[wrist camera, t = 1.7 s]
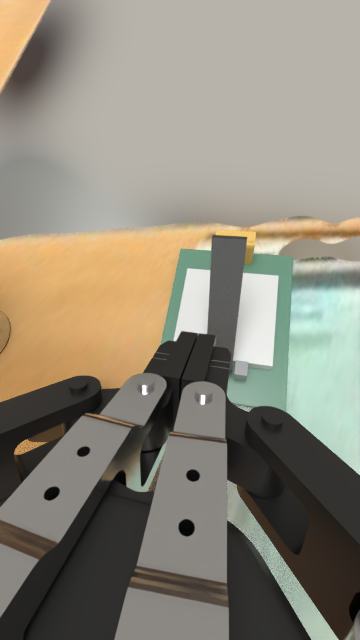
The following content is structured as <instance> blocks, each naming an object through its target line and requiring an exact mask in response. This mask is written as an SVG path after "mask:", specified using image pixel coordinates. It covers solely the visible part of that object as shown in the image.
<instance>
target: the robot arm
mask: <svg viewBox="0 0 360 640" xmlns="http://www.w3.org/2000/svg"><path fill="white" fill-rule="evenodd" d="M9 334H10V324H9V321H8V319H7V317H6V316H5V315H4V314H3V313H2V312H0V352H1V351H2V350H3V348H4V347H5V345H6V343H7V341H8V338H9ZM230 363H231V353H230V352H229V350H228V349H227V348H223V347H216V335H211V334H202V333H199V334H198V333H194V332H186V331H181V333H180V335H179V336H178V338H177V340H176V341H169V340H168V341H166V342H165V343H163V344H161V345H160V346H159V348H158V349H157V351H156V353H155V354H154V356H153V358H152V359H151V361H150V362H149V364H148V366H147V367H146V369H145V371H144V372H143V373H141V374H137V375H134V376H132V377H131V378H129V379H128V380H127V381H126V383H125V384H124V385H123V386H122V387H121V388H116V389H101V384H100V381H99V380H98V379H96V378H95V377H92V376H76V377H72V378H69V379H66V380H63V381H60V382H58V383H55V384H52V385H49V386H46V387H43V388H40V389H38V390H35V391H32V392H29V393H26V394H23V395H20V396H17V397H15V398H12V399H9V400H6V401H3V402H0V640H311V638H310V637H309V635H308V633H307V632H306V630H305V628H304V627H303V625H302V623H301V622H300V620H299V618H298V617H297V615H296V613H295V612H294V610H293V608H292V607H291V605H290V603H289V601H288V600H287V598H286V596H285V595H284V593H283V591H282V590H281V588H280V586H279V585H278V583H277V581H276V580H275V578H274V576H273V575H272V573H271V571H270V570H269V568H268V566H267V564H266V563H265V561H264V559H263V558H262V556H261V555H260V553H259V552H258V550H257V549H256V548H255V546H254V545H253V544H252V542H251V541H250V540H249V539H248V538H247V537H246V536H245V535H244V534H243V533H242V532H241V531H240V530H239V529H238V528H237V527H235V526H234V525H233V524H232V523H230V522H229V521H227V480H229V481H231V482H233V483H235V484H237V490H238V493H239V495H240V497H241V498H242V500H243V501H244V503H245V504H246V506H247V507H248V508H249V510H250V511H251V513H252V514H253V516H254V517H255V519H256V520H257V522H258V523H259V524H260V526H261V527H262V529H263V530H264V532H265V533H266V535H267V536H268V537H269V539H270V540H271V542H272V543H273V545H274V546H275V548H276V549H277V551H278V552H279V553H280V555H281V556H282V558H283V559H284V561H285V562H286V564H287V565H288V567H289V568H290V569H291V571H292V572H293V574H294V575H295V577H296V578H297V580H298V581H299V583H300V584H301V585H302V587H303V588H304V590H305V591H306V593H307V594H308V596H309V597H310V599H311V600H312V601H313V603H314V604H315V606H316V607H317V609H318V610H319V612H320V613H321V614H322V616H323V617H324V619H325V620H326V622H327V623H328V625H329V626H330V628H331V629H332V630H333V632H334V633H335V635H336V636H337V638H338V639H339V640H360V475H359V474H358V473H356V472H355V471H354V470H353V469H352V468H351V467H349V466H348V465H347V464H346V463H345V462H344V461H343V460H341V459H340V458H339V457H338V456H337V455H336V454H334V453H333V452H332V451H331V450H330V449H329V448H328V447H326V446H325V445H324V444H323V443H322V442H321V441H319V440H318V439H317V438H316V437H315V436H314V435H313V434H311V433H310V432H309V431H308V430H307V429H306V428H304V427H303V426H302V425H301V424H300V423H299V422H297V421H296V420H295V419H294V418H293V417H292V416H291V415H289V414H288V413H287V412H285V411H283V410H281V409H279V408H276V407H272V406H258V407H255V408H253V409H252V410H250V411H249V412H247V411H244V410H242V409H240V408H238V407H236V406H235V405H234V404H232V403H231V402H230V400H229V399H228V397H227V389H228V381H229V372H230ZM60 424H62V430H63V436H61V437H59V438H57V439H55V440H52V441H50V442H48V443H46V444H44V445H41V446H39V447H37V448H35V449H33V450H31V451H28V452H26V453H24V454H21V455H14V451H15V449H16V447H17V446H18V445H19V444H20V443H21V442H22V441H24V440H26V439H28V438H30V437H33V436H35V435H37V434H40V433H42V432H44V431H47V430H49V429H51V428H54V427H56V426H58V425H60ZM168 435H169V436H168ZM167 438H168V440H167ZM166 441H167V444H166ZM163 455H164V456H163ZM162 457H163V460H162V464H161V468H160V472H159V476H158V480H157V485H156V489H155V492H147V491H148V489H149V486H150V484H151V482H152V480H153V477H154V475H155V473H156V470H157V468H158V466H159V464H160V461H161V459H162Z"/></svg>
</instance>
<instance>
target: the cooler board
mask: <svg viewBox="0 0 360 640" xmlns="http://www.w3.org/2000/svg"><path fill="white" fill-rule="evenodd" d="M216 235H224V236H242V237H247V244H246V253H245V261H244V270H243V278H242V287H241V295H240V304H239V313H238V321H237V330H236V338H235V347H234V356H233V364H232V373H231V374H229V381H228V389H227V397H228V399H229V400H230V402H231V403H232V404H237V405H243V406H249V407H258V406H272V407H276V408H279V409H281V410H283V411H286V392H287V370H288V349H289V328H290V306H291V285H292V263H293V257H292V256H279V255H265V254H253V251H254V246H255V237H256V232H248V231H229V230H217V231H216ZM210 268H211V251H206V250H192V249H181V251H180V256H179V260H178V265H177V270H176V275H175V279H174V284H173V289H172V294H171V298H170V303H169V308H168V313H167V318H166V322H165V327H164V332H163V337H162V341H161V344H163V343H165V342H166V341H168V340H169V341H176V340H177V338H178V336H179V335H180V333H181V331H186V332H194V333H198V334H199V333H202V334H207V328H208V308H209V288H210Z"/></svg>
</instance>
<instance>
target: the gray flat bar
mask: <svg viewBox="0 0 360 640" xmlns="http://www.w3.org/2000/svg"><path fill="white" fill-rule="evenodd" d="M246 244H247V237H242V236H224V235H213V237H212V248H211V268H210V288H209V308H208V328H207V334H211V335H216V347H223V348H227V349H228V350H229V352H230V353H231V363H230V372H229V374H231V373H232V364H233V356H234V347H235V338H236V330H237V321H238V313H239V304H240V295H241V287H242V278H243V270H244V261H245V253H246Z"/></svg>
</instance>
